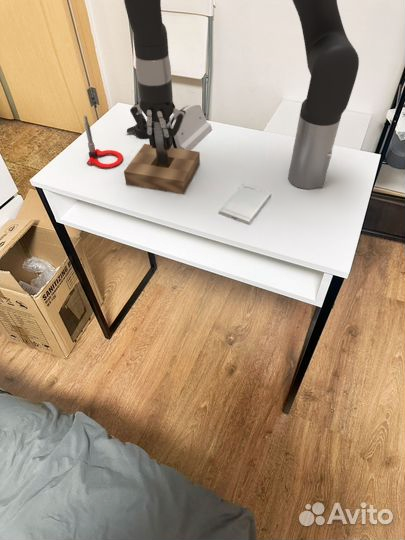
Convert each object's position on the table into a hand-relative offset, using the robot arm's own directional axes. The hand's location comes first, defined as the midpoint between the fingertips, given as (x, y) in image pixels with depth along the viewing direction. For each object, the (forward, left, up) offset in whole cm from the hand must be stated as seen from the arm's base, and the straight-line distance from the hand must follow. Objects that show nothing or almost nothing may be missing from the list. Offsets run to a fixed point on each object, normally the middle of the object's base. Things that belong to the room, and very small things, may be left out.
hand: (161, 147), depth 96 cm
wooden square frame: (0, 0, -8) cm, 8 cm away
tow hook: (+18, -2, -8) cm, 20 cm away
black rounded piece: (+13, -19, -9) cm, 24 cm away
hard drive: (-24, +7, -9) cm, 26 cm away
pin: (0, 0, -4) cm, 4 cm away
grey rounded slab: (-1, -20, -8) cm, 21 cm away
